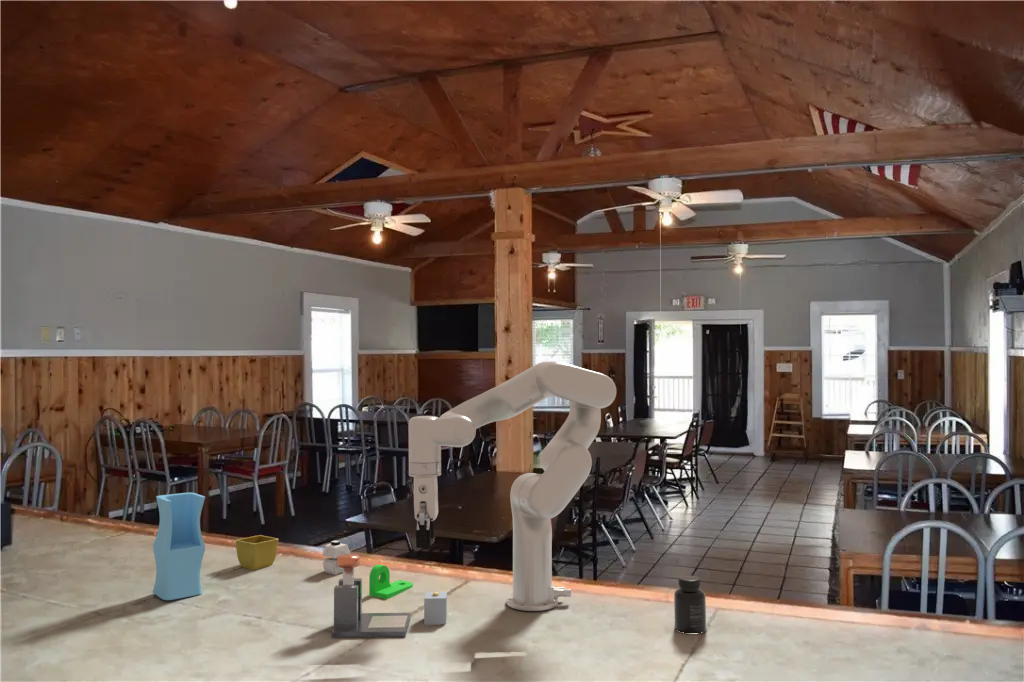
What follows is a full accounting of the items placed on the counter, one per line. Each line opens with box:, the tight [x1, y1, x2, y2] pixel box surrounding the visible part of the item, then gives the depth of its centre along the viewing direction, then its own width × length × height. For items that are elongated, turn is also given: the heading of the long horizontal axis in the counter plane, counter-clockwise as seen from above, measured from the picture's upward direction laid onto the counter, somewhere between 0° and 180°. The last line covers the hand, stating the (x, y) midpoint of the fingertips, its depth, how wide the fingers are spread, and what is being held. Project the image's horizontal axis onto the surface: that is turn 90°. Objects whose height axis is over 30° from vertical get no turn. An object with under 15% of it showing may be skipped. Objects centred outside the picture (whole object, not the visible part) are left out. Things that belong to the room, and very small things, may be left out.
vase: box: [152, 492, 206, 601], centre depth 205 cm, size 10×10×25 cm
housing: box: [423, 591, 448, 626], centre depth 182 cm, size 5×5×6 cm
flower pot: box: [235, 534, 279, 571], centre depth 227 cm, size 9×9×9 cm
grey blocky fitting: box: [322, 540, 351, 575], centre depth 220 cm, size 6×7×10 cm
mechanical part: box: [368, 564, 414, 600], centre depth 204 cm, size 12×6×8 cm, turn 149°
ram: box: [337, 553, 361, 585], centre depth 178 cm, size 5×5×12 cm
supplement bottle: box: [673, 575, 707, 633], centre depth 175 cm, size 7×7×12 cm
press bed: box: [331, 577, 412, 639], centre depth 178 cm, size 16×13×10 cm
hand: (425, 542), depth 184 cm, fingers open, 9 cm apart
